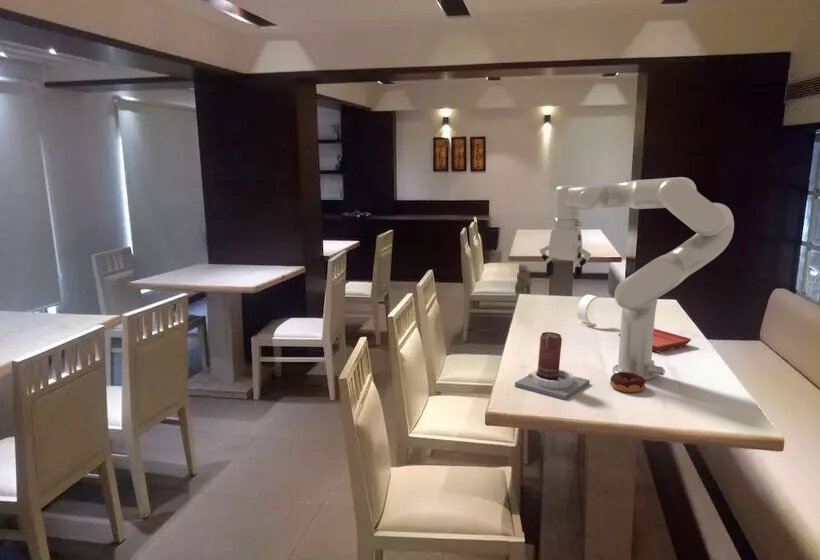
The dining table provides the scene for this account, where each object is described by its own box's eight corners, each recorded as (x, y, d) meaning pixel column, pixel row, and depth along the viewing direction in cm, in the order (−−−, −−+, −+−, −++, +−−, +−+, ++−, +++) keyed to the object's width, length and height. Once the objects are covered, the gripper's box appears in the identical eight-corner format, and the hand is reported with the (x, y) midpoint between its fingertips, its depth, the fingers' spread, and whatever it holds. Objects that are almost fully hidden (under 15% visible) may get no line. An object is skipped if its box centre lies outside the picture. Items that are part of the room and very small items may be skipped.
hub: (589, 383, 176) (589, 373, 175) (565, 399, 164) (565, 388, 163) (541, 372, 186) (541, 362, 185) (514, 386, 174) (515, 376, 173)
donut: (616, 379, 179) (617, 367, 179) (650, 387, 173) (651, 374, 173) (604, 389, 172) (604, 376, 171) (638, 397, 166) (639, 384, 165)
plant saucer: (616, 342, 218) (617, 333, 218) (650, 335, 226) (651, 327, 226) (656, 355, 203) (657, 346, 202) (691, 348, 211) (692, 339, 210)
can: (534, 381, 174) (538, 335, 171) (539, 374, 180) (543, 330, 177) (555, 384, 171) (559, 338, 169) (559, 378, 177) (563, 333, 174)
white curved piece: (595, 325, 240) (597, 296, 238) (584, 327, 237) (586, 298, 235) (587, 322, 244) (588, 294, 241) (576, 324, 241) (577, 296, 239)
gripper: (596, 225, 186) (593, 278, 190) (547, 222, 197) (545, 272, 201) (586, 227, 181) (583, 281, 184) (536, 223, 192) (534, 275, 195)
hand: (563, 276), depth 192 cm, fingers open, 9 cm apart
